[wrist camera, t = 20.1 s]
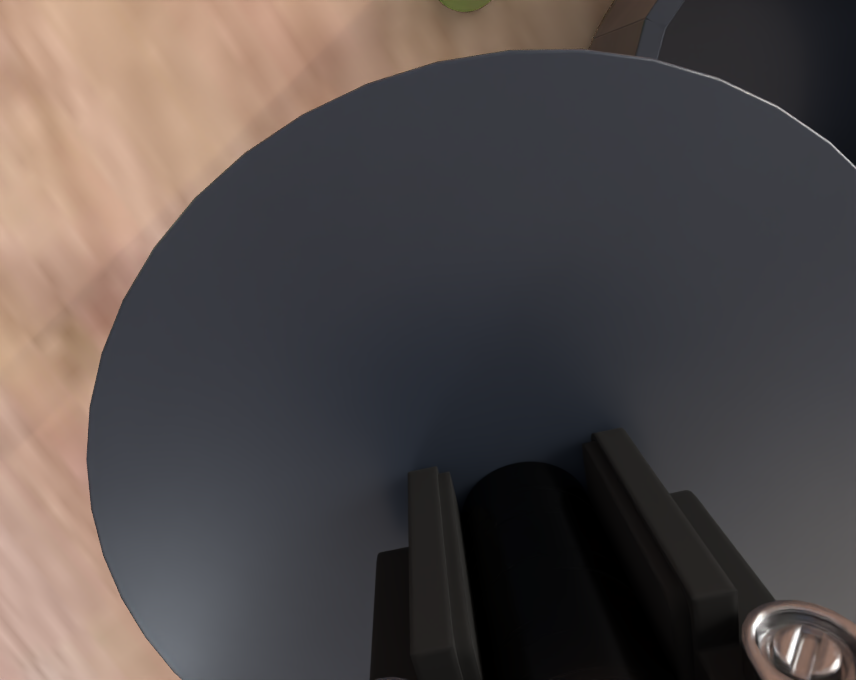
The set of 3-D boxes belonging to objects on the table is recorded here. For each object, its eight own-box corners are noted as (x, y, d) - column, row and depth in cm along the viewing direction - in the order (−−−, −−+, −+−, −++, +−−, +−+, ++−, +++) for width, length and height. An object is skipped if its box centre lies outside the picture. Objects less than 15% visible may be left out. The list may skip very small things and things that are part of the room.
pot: (487, -20, 25) (515, -63, 19) (976, -145, 24) (1169, -232, 18) (543, 307, 30) (578, 356, 24) (946, 213, 29) (1090, 239, 23)
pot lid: (-41, 178, 10) (-831, 294, 3) (938, -52, 9) (2093, -408, 3) (260, 800, 15) (163, 1273, 9) (882, 682, 15) (1236, 1102, 8)
